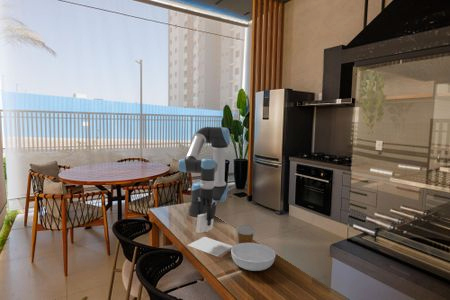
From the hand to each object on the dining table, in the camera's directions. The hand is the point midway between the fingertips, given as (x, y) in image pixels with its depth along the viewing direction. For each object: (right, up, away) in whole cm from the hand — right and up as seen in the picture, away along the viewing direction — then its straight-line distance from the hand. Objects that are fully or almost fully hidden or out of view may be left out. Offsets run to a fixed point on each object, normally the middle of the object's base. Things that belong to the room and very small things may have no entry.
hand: (205, 230), depth 147 cm
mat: (+3, -9, -1) cm, 9 cm away
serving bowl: (+24, -11, -19) cm, 32 cm away
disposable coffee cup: (+21, -10, -3) cm, 23 cm away
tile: (0, 0, -1) cm, 1 cm away
